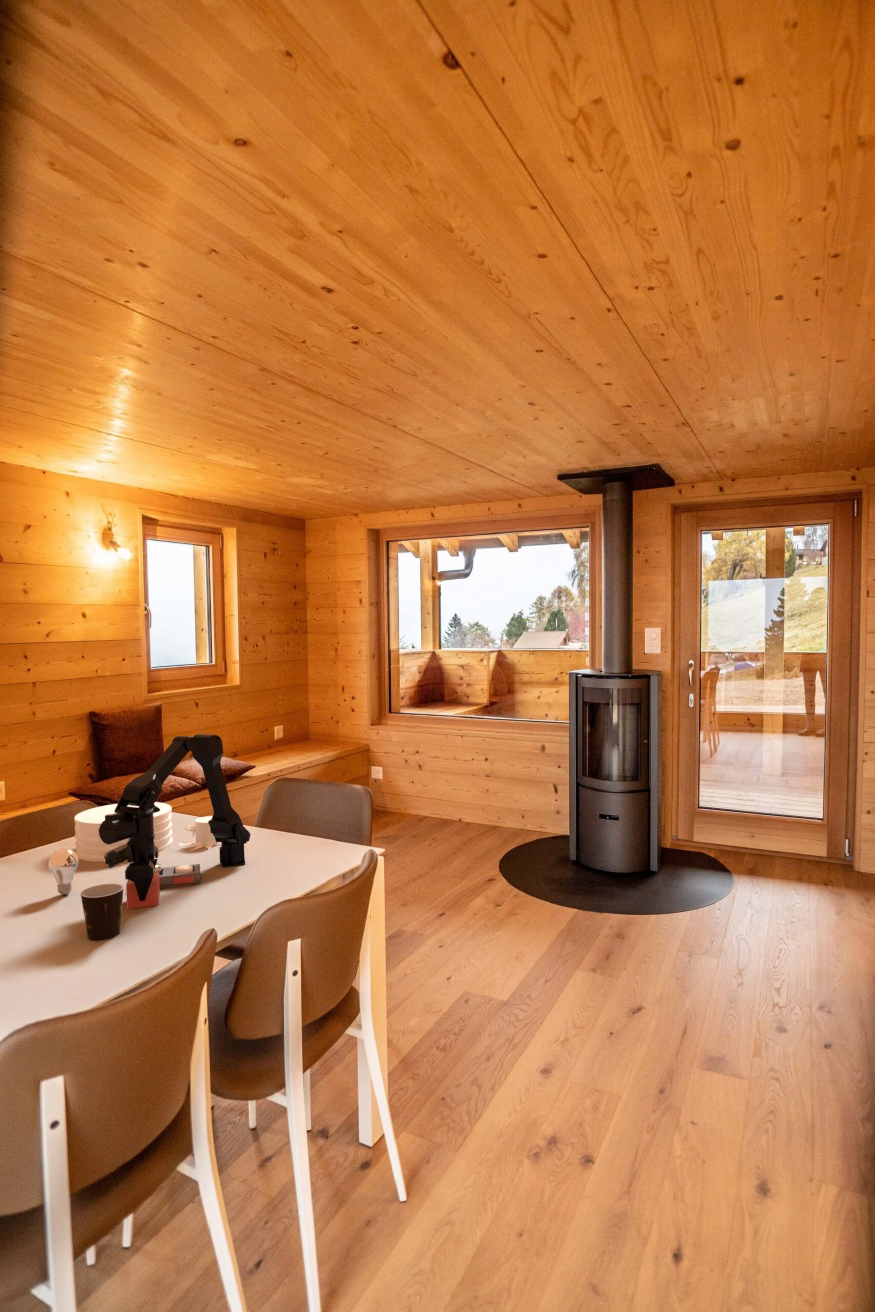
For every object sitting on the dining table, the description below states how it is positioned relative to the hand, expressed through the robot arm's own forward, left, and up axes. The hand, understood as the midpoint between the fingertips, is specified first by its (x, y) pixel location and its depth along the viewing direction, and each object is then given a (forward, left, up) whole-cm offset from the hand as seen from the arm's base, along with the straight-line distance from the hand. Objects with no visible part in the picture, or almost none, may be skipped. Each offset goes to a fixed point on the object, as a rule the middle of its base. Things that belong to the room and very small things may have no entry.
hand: (143, 896), depth 181 cm
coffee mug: (+7, +20, -2) cm, 21 cm away
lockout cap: (0, 0, -2) cm, 2 cm away
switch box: (-5, -13, -2) cm, 14 cm away
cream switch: (-9, -14, 0) cm, 16 cm away
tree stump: (-15, -49, -2) cm, 51 cm away
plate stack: (+10, -54, -2) cm, 55 cm away
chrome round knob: (-1, -13, +1) cm, 14 cm away
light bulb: (+20, -13, -2) cm, 24 cm away
